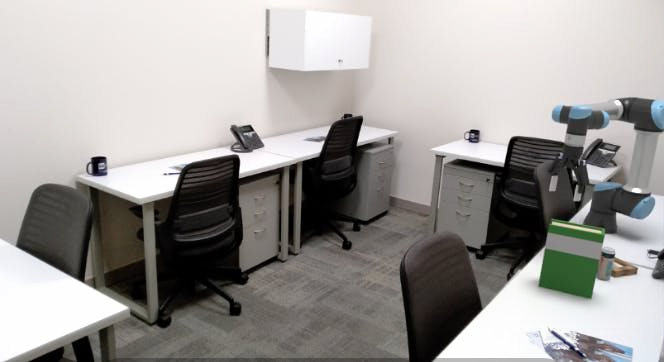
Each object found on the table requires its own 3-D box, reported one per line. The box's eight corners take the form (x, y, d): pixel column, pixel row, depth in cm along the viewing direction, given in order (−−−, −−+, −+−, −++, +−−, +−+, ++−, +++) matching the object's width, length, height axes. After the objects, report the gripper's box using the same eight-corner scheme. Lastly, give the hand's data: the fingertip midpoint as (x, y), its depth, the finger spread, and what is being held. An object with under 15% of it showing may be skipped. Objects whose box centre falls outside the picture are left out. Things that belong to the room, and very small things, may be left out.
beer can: (598, 274, 206) (604, 245, 202) (611, 278, 202) (617, 249, 199) (593, 277, 202) (600, 248, 199) (607, 282, 199) (613, 252, 196)
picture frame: (611, 261, 218) (612, 255, 218) (636, 274, 208) (638, 267, 207) (589, 264, 214) (590, 258, 213) (614, 277, 203) (615, 271, 203)
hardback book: (538, 286, 192) (549, 224, 186) (540, 278, 198) (551, 218, 192) (591, 299, 185) (604, 235, 178) (591, 290, 191) (604, 228, 185)
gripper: (544, 138, 220) (535, 187, 225) (591, 151, 197) (580, 205, 203) (558, 138, 222) (549, 186, 228) (606, 151, 200) (595, 204, 205)
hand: (564, 195), depth 215 cm, fingers open, 13 cm apart
